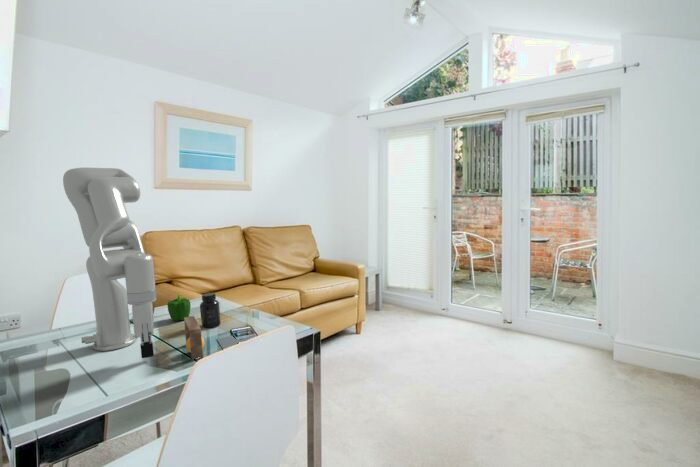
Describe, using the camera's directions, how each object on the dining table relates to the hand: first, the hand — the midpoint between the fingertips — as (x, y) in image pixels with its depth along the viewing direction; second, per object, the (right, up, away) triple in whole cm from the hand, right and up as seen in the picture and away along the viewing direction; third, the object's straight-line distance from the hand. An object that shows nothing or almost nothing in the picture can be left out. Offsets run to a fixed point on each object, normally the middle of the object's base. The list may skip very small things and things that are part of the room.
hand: (147, 356), depth 116 cm
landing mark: (+23, +1, +13) cm, 27 cm away
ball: (+12, +2, +5) cm, 13 cm away
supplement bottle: (+8, +2, +30) cm, 31 cm away
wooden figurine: (-22, +2, +41) cm, 47 cm away
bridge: (+11, 0, +6) cm, 13 cm away
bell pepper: (-7, +2, +39) cm, 39 cm away
